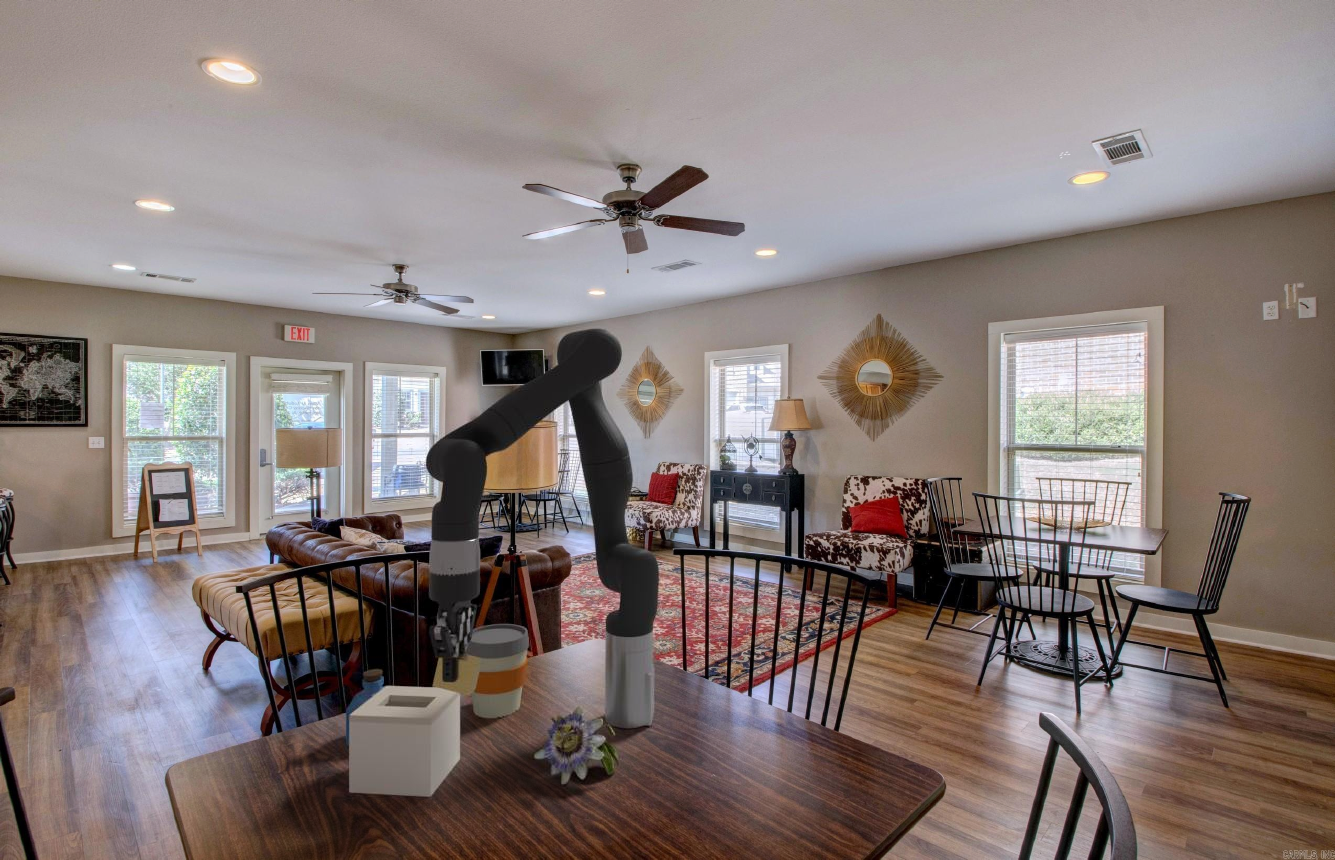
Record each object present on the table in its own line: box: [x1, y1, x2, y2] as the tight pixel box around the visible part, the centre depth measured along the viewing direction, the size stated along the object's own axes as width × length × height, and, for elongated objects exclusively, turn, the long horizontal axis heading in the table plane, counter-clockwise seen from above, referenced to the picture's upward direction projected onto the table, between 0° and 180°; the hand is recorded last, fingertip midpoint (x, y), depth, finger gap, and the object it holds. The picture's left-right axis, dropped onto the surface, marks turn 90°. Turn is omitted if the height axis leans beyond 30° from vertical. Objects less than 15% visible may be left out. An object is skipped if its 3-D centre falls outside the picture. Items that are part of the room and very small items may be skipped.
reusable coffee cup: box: [464, 623, 530, 719], centre depth 127 cm, size 13×13×15 cm
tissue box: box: [348, 685, 461, 798], centre depth 103 cm, size 13×11×12 cm
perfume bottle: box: [345, 668, 385, 746], centre depth 115 cm, size 6×6×12 cm
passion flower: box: [533, 705, 620, 785], centre depth 105 cm, size 11×11×12 cm
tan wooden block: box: [432, 653, 482, 697], centre depth 99 cm, size 6×2×5 cm, turn 87°
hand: (453, 677), depth 99 cm, fingers closed on tan wooden block, 2 cm apart
